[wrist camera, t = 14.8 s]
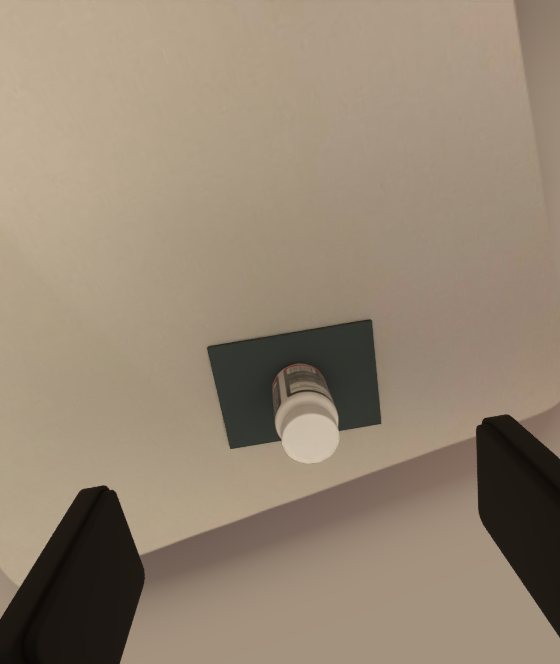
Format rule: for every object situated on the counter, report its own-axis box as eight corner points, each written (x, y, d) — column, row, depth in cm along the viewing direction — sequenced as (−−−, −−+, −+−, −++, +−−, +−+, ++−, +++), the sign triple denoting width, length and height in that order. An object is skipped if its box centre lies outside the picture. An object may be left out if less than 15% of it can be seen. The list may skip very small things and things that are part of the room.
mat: (370, 319, 35) (371, 320, 34) (380, 421, 38) (381, 424, 38) (207, 346, 35) (207, 348, 34) (230, 446, 38) (230, 449, 38)
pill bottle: (299, 420, 37) (310, 481, 29) (260, 389, 36) (261, 443, 28) (337, 385, 36) (359, 438, 28) (298, 351, 35) (310, 396, 27)
